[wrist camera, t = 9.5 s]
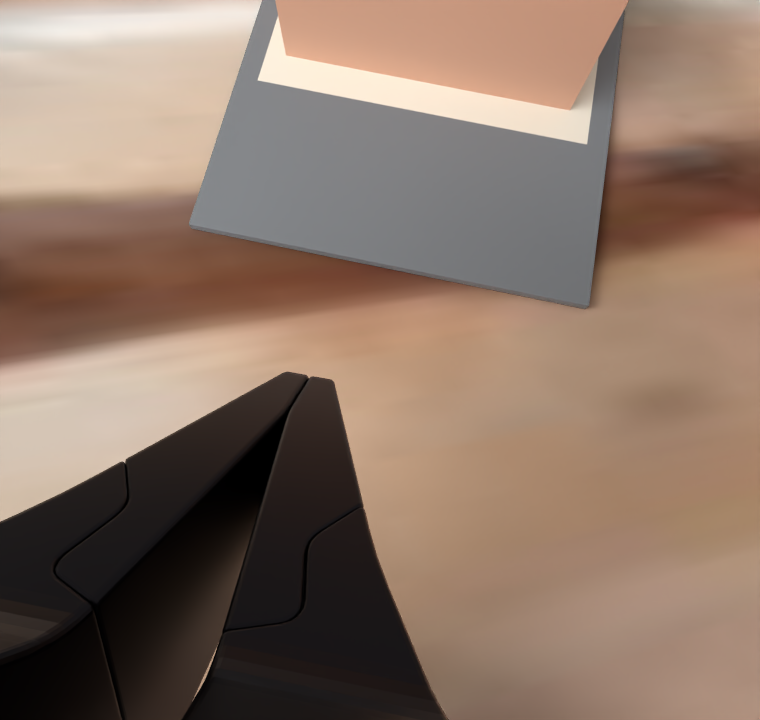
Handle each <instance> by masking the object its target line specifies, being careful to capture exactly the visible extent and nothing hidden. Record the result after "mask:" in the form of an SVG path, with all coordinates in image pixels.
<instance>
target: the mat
mask: <svg viewBox="0 0 760 720" xmlns="http://www.w3.org/2000/svg"><path fill="white" fill-rule="evenodd" d="M624 12H625V9H624V11H623V13H622V14H621V16H620V18H619V20H618V22H617V24H616V26H615V27H614V29H613V31H612V33H611V35H610V37H609V39H608V40H607V42H606V44H605V46H604V48H603V50H602V52H601V53H600V55H599V57H598V59H597V61H596V63H595V65H594V66H593V68H592V70H591V72H590V74H589V76H588V78H587V79H586V81H585V83H584V85H583V87H582V89H581V91H580V92H579V94H578V96H577V98H576V100H575V102H574V104H573V105H572V107H571V109H570V110H564V109H559V108H554V107H549V106H544V105H539V104H534V103H528V102H523V101H518V100H513V99H508V98H503V97H497V96H492V95H487V94H482V93H477V92H472V91H466V90H461V89H456V88H451V87H446V86H441V85H436V84H430V83H425V82H420V81H415V80H410V79H405V78H399V77H394V76H389V75H384V74H379V73H374V72H369V71H363V70H358V69H353V68H348V67H343V66H338V65H332V64H327V63H322V62H317V61H312V60H307V59H301V58H296V57H291V56H286V53H285V48H284V43H283V38H282V33H281V28H280V22H279V17H278V12H277V7H276V2H275V0H262V3H261V6H260V9H259V12H258V15H257V18H256V21H255V24H254V27H253V30H252V33H251V36H250V39H249V42H248V45H247V48H246V52H245V55H244V58H243V61H242V64H241V67H240V70H239V73H238V76H237V79H236V82H235V85H234V88H233V91H232V94H231V97H230V100H229V103H228V106H227V109H226V112H225V115H224V118H223V121H222V125H221V128H220V131H219V134H218V137H217V140H216V143H215V146H214V149H213V152H212V155H211V158H210V161H209V164H208V167H207V170H206V173H205V176H204V179H203V182H202V185H201V188H200V191H199V195H198V198H197V201H196V204H195V207H194V210H193V213H192V216H191V219H190V222H189V225H190V227H191V228H192V229H196V230H201V231H206V232H211V233H216V234H221V235H226V236H231V237H235V238H240V239H245V240H250V241H255V242H260V243H265V244H270V245H275V246H279V247H284V248H289V249H294V250H299V251H304V252H309V253H314V254H319V255H324V256H328V257H333V258H338V259H343V260H348V261H353V262H358V263H363V264H368V265H372V266H377V267H382V268H387V269H392V270H397V271H402V272H407V273H412V274H416V275H421V276H426V277H431V278H436V279H441V280H446V281H451V282H456V283H461V284H465V285H470V286H475V287H480V288H485V289H490V290H495V291H500V292H505V293H509V294H514V295H519V296H524V297H529V298H534V299H539V300H544V301H549V302H553V303H558V304H563V305H568V306H573V307H578V308H583V309H586V308H587V307H588V306H589V302H590V294H591V285H592V277H593V269H594V261H595V252H596V244H597V236H598V227H599V219H600V211H601V203H602V194H603V186H604V178H605V170H606V161H607V153H608V145H609V136H610V128H611V120H612V112H613V103H614V95H615V87H616V78H617V70H618V62H619V54H620V45H621V37H622V29H623V21H624Z"/></svg>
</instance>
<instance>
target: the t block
mask: <svg viewBox="0 0 760 720" xmlns="http://www.w3.org/2000/svg"><path fill="white" fill-rule="evenodd" d="M628 1H629V0H275V2H276V7H277V12H278V17H279V22H280V28H281V33H282V38H283V43H284V48H285V53H286V56H291V57H296V58H301V59H307V60H312V61H317V62H322V63H327V64H332V65H338V66H343V67H348V68H353V69H358V70H363V71H369V72H374V73H379V74H384V75H389V76H394V77H399V78H405V79H410V80H415V81H420V82H425V83H430V84H436V85H441V86H446V87H451V88H456V89H461V90H466V91H472V92H477V93H482V94H487V95H492V96H497V97H503V98H508V99H513V100H518V101H523V102H528V103H534V104H539V105H544V106H549V107H554V108H559V109H564V110H570V109H571V107H572V105H573V104H574V102H575V100H576V98H577V96H578V94H579V92H580V91H581V89H582V87H583V85H584V83H585V81H586V79H587V78H588V76H589V74H590V72H591V70H592V68H593V66H594V65H595V63H596V61H597V59H598V57H599V55H600V53H601V52H602V50H603V48H604V46H605V44H606V42H607V40H608V39H609V37H610V35H611V33H612V31H613V29H614V27H615V26H616V24H617V22H618V20H619V18H620V16H621V14H622V13H623V11H624V9H625V7H626V5H627V3H628Z"/></svg>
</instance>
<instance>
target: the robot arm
mask: <svg viewBox="0 0 760 720" xmlns="http://www.w3.org/2000/svg"><path fill="white" fill-rule="evenodd" d="M363 507H364V506H363V501H362V497H361V493H360V489H359V485H358V480H357V476H356V472H355V468H354V464H353V460H352V455H351V451H350V447H349V443H348V439H347V434H346V430H345V426H344V422H343V418H342V413H341V409H340V405H339V401H338V397H337V392H336V388H335V384H334V382H333V381H332V380H330V379H325V378H319V377H310V378H308V376H307V375H303V374H297V373H292V372H284V373H282V374H280V375H278V376H277V377H275V378H273V379H271V380H269V381H268V382H266V383H264V384H262V385H260V386H258V387H257V388H255V389H253V390H251V391H249V392H247V393H246V394H244V395H242V396H240V397H238V398H237V399H235V400H233V401H231V402H229V403H227V404H226V405H224V406H222V407H220V408H218V409H217V410H215V411H213V412H211V413H209V414H207V415H206V416H204V417H202V418H200V419H198V420H196V421H195V422H193V423H191V424H189V425H187V426H186V427H184V428H182V429H180V430H178V431H176V432H175V433H173V434H171V435H169V436H167V437H165V438H164V439H162V440H160V441H158V442H156V443H155V444H153V445H151V446H149V447H147V448H145V449H144V450H142V451H140V452H138V453H136V454H134V455H133V456H131V457H129V458H127V459H126V461H125V463H124V462H120V463H118V464H116V465H114V466H112V467H110V468H109V469H107V470H105V471H103V472H101V473H99V474H98V475H96V476H94V477H92V478H90V479H88V480H86V481H84V482H82V483H80V484H78V485H76V486H74V487H73V488H71V489H69V490H67V491H65V492H63V493H61V494H59V495H57V496H55V497H52V498H50V499H48V500H46V501H44V502H42V503H40V504H38V505H36V506H33V507H31V508H29V509H27V510H25V511H23V512H21V513H19V514H16V515H14V516H12V517H10V518H8V519H5V520H3V521H1V522H0V720H448V718H447V717H446V715H445V714H444V712H443V710H442V708H441V707H440V705H439V703H438V701H437V699H436V697H435V695H434V693H433V691H432V689H431V687H430V685H429V682H428V680H427V678H426V676H425V673H424V671H423V669H422V666H421V664H420V661H419V659H418V657H417V654H416V652H415V649H414V647H413V645H412V642H411V640H410V637H409V635H408V633H407V630H406V628H405V625H404V623H403V621H402V618H401V616H400V613H399V611H398V609H397V606H396V604H395V601H394V599H393V596H392V594H391V592H390V589H389V587H388V584H387V581H386V579H385V576H384V573H383V571H382V568H381V565H380V562H379V560H378V557H377V554H376V550H375V547H374V543H373V540H372V536H371V533H370V529H369V525H368V521H367V517H366V513H365V510H364V509H363ZM218 643H219V644H218ZM217 645H218V647H217ZM216 648H217V650H216ZM215 650H216V653H215V656H214V659H213V662H212V664H211V667H210V669H209V672H208V674H207V677H206V679H205V681H204V683H203V685H202V687H201V688H200V690H199V692H198V693H197V695H196V697H195V698H194V696H195V694H196V692H197V690H198V688H199V685H200V683H201V681H202V679H203V676H204V674H205V672H206V670H207V668H208V665H209V663H210V661H211V659H212V656H213V654H214V652H215ZM193 699H194V700H193ZM192 701H193V702H192Z"/></svg>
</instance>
